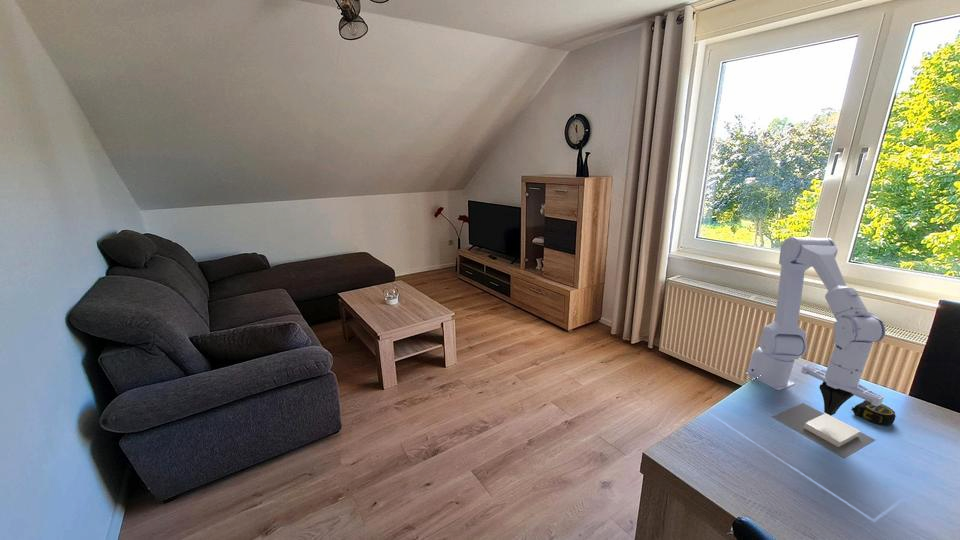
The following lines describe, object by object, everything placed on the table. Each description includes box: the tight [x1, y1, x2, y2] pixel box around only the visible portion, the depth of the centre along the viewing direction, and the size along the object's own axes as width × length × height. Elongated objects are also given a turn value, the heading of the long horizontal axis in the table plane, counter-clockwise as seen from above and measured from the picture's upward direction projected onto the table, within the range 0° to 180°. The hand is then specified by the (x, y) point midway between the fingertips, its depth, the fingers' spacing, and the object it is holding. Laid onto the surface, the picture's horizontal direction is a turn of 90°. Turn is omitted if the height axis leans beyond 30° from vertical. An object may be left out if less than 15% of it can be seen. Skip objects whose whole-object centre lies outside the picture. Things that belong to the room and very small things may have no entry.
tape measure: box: [851, 400, 897, 426], centre depth 97 cm, size 7×7×4 cm
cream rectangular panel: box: [804, 413, 862, 447], centre depth 91 cm, size 2×9×7 cm
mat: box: [771, 402, 876, 459], centre depth 93 cm, size 15×14×1 cm
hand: (829, 412), depth 91 cm, fingers closed
